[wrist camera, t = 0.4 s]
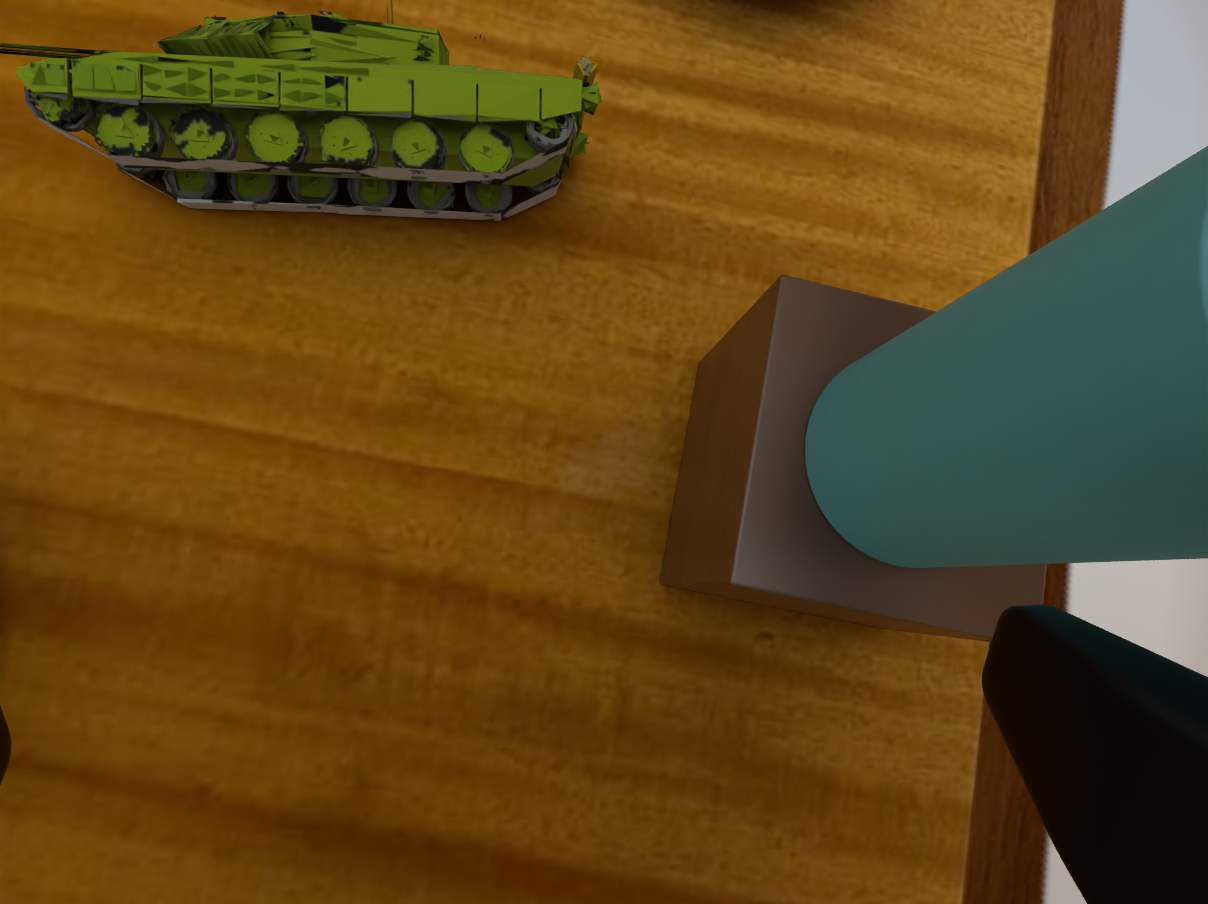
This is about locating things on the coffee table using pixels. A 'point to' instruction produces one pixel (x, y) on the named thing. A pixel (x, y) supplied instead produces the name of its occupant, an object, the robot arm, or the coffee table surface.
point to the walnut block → (804, 480)
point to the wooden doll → (1039, 404)
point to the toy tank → (318, 116)
